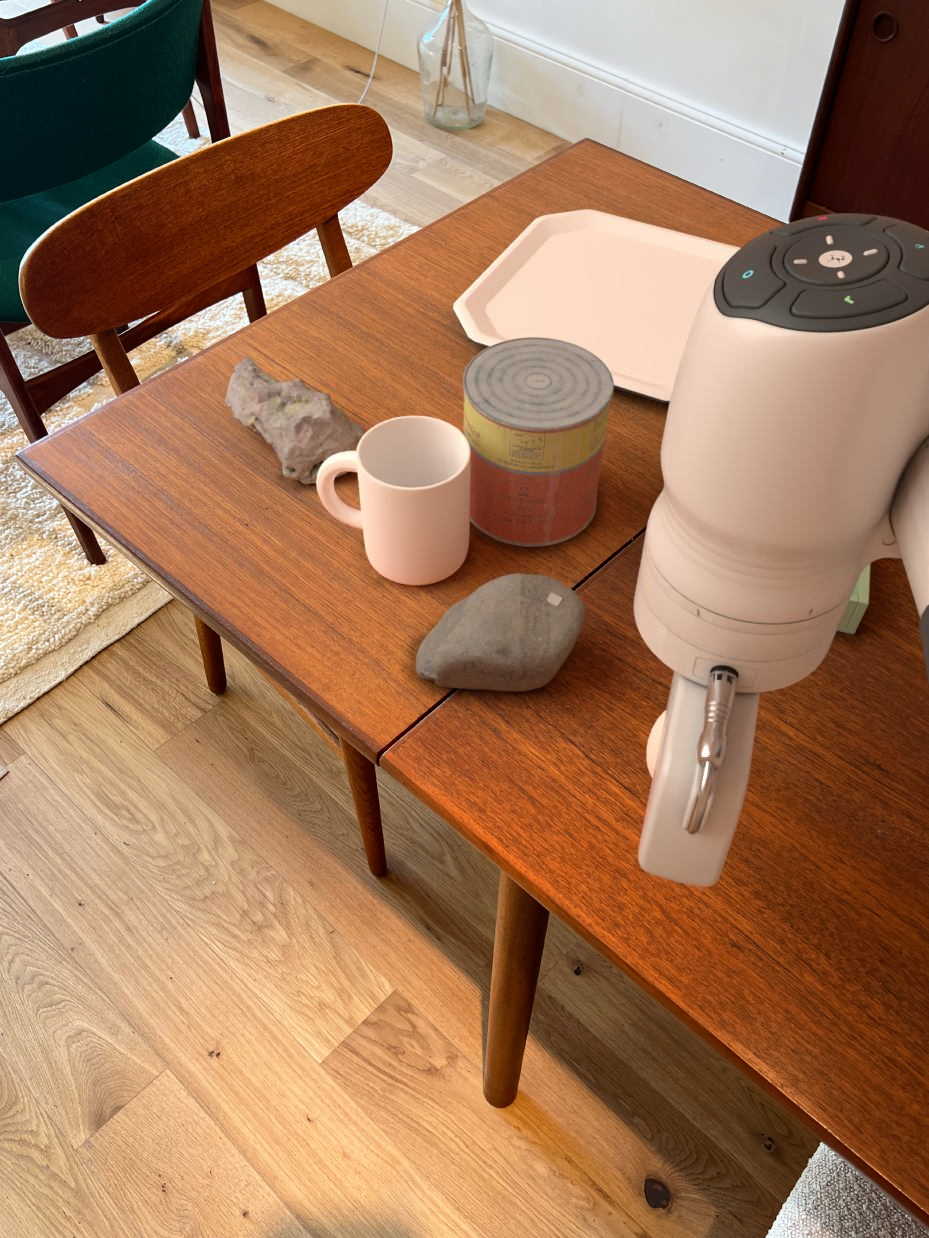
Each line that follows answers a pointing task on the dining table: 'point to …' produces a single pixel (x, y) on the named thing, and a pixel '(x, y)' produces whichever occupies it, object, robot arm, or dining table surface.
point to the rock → (291, 420)
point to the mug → (407, 497)
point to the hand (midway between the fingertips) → (688, 761)
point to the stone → (504, 635)
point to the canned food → (535, 438)
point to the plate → (598, 293)
